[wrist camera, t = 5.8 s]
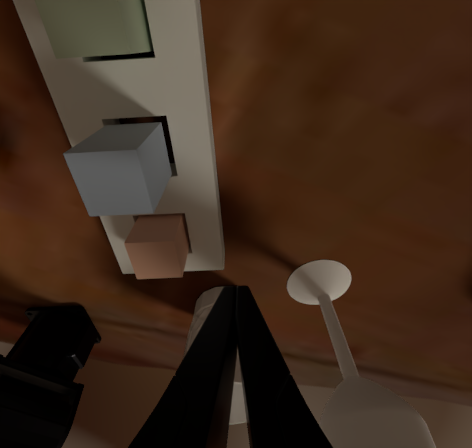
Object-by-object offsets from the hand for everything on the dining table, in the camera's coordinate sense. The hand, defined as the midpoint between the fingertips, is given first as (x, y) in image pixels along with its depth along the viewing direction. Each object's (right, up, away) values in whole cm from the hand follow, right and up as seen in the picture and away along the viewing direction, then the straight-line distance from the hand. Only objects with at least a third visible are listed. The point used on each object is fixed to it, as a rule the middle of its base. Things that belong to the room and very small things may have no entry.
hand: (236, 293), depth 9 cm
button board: (-6, +9, +10) cm, 15 cm away
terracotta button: (-6, +3, +14) cm, 15 cm away
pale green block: (-7, +14, +6) cm, 17 cm away
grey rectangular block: (-6, +7, +8) cm, 12 cm away
